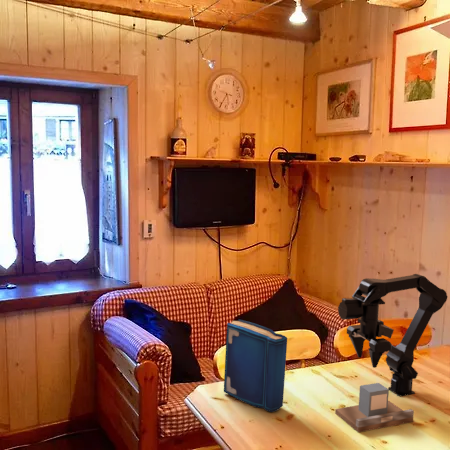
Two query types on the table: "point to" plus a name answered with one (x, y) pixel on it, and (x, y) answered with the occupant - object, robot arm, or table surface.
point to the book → (255, 365)
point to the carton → (373, 399)
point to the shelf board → (374, 417)
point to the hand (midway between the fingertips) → (367, 362)
